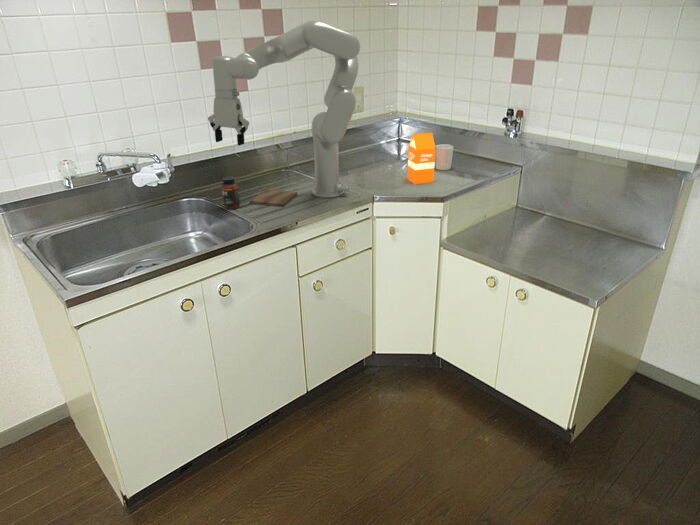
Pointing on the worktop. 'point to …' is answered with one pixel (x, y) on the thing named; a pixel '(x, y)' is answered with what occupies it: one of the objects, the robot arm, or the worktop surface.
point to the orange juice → (421, 158)
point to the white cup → (444, 156)
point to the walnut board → (273, 198)
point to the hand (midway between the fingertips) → (230, 142)
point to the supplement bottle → (230, 193)
